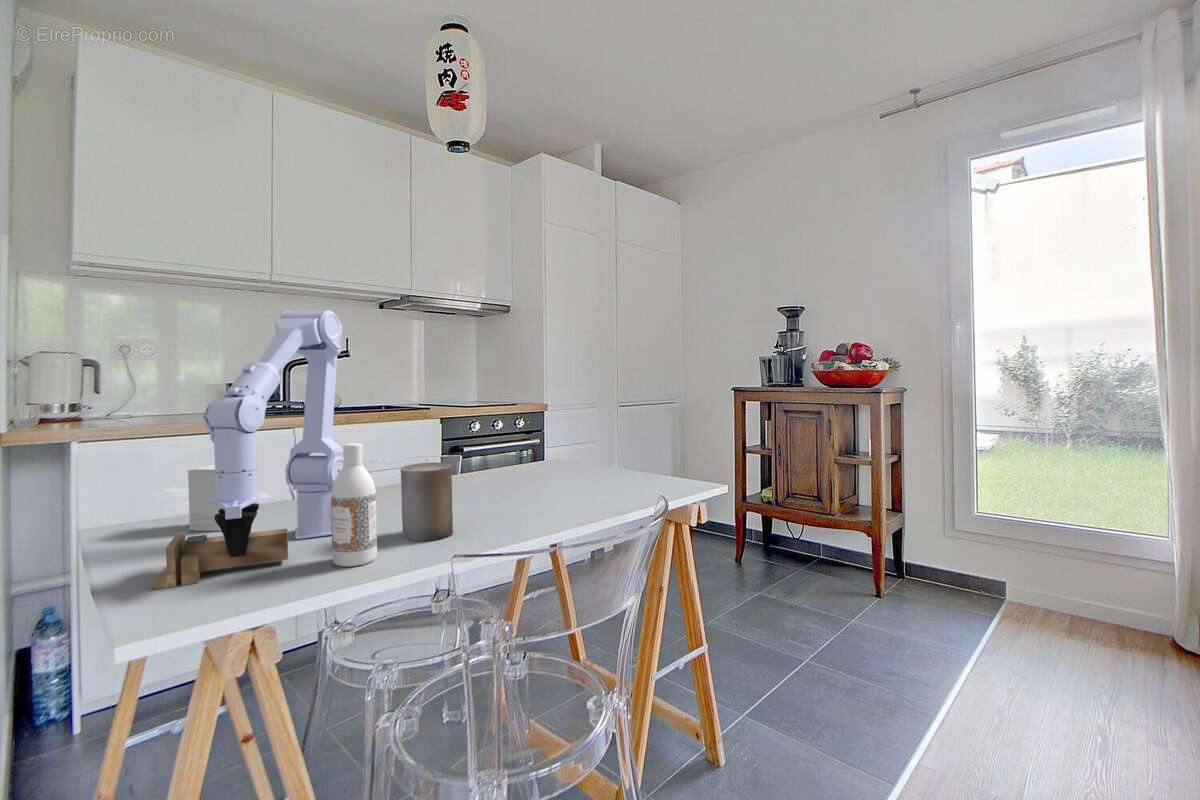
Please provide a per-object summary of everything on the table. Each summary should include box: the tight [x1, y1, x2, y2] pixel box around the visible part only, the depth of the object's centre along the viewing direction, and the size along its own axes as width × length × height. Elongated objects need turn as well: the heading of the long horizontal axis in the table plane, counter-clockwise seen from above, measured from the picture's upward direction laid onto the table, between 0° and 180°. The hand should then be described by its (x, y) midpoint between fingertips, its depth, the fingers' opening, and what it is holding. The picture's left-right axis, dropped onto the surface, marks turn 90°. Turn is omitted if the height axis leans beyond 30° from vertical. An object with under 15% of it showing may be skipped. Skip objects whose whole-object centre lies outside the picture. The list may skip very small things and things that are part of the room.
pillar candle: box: [399, 459, 454, 542], centre depth 110 cm, size 10×10×15 cm
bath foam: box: [331, 442, 378, 568], centre depth 94 cm, size 7×7×20 cm
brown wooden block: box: [183, 528, 289, 573], centre depth 91 cm, size 14×3×5 cm, turn 119°
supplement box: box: [187, 464, 222, 532], centre depth 116 cm, size 7×7×13 cm
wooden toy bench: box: [150, 531, 201, 591], centre depth 87 cm, size 6×9×6 cm, turn 29°
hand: (239, 552), depth 91 cm, fingers closed on brown wooden block, 3 cm apart
